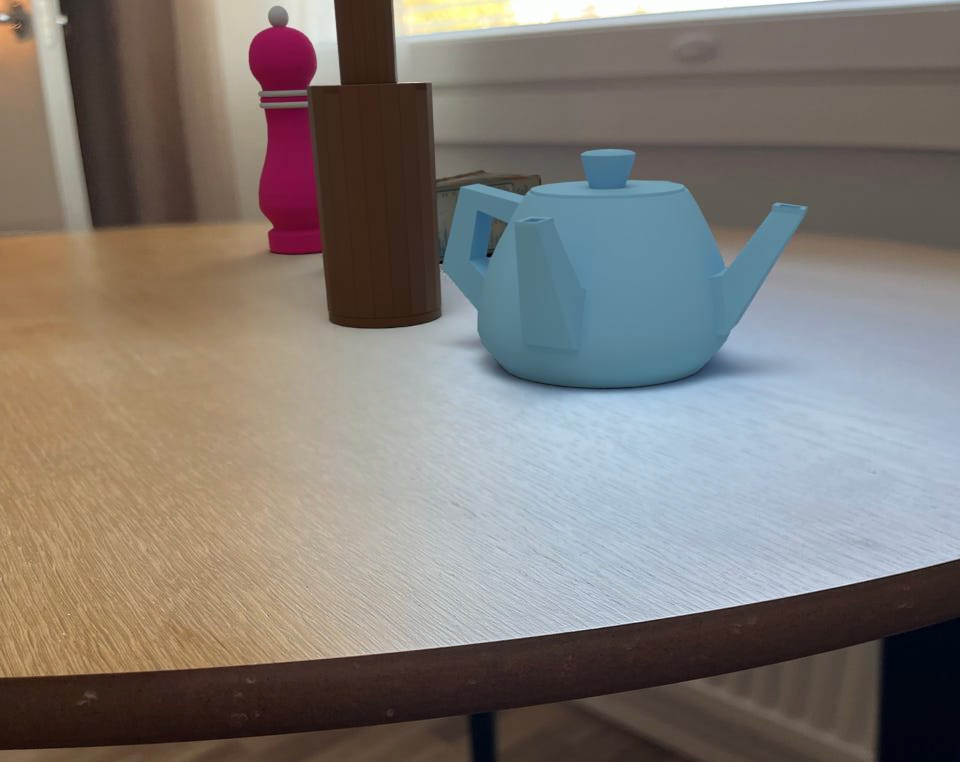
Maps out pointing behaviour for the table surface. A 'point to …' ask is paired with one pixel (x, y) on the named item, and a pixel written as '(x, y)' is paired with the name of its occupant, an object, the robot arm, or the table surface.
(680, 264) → the teapot
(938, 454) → the table surface
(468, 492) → the table surface
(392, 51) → the bottle
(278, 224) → the pepper mill
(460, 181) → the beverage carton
